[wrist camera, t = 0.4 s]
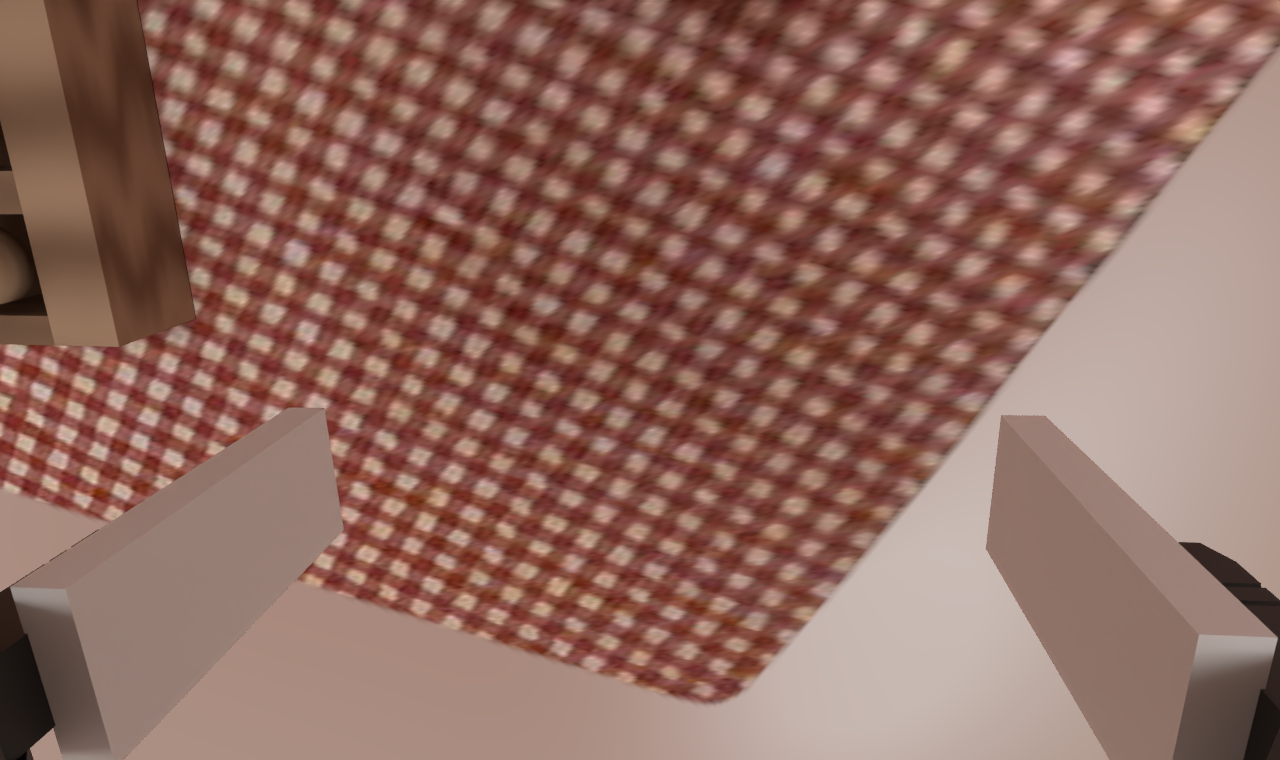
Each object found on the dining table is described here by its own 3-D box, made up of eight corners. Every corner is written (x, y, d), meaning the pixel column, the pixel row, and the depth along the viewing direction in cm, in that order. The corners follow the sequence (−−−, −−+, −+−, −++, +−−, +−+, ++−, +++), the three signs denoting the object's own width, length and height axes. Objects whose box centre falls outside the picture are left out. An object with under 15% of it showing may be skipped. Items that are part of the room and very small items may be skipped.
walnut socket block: (-107, -114, 40) (-246, -152, 34) (113, -124, 39) (7, -166, 33) (4, 315, 47) (-96, 342, 41) (195, 318, 46) (119, 346, 40)
